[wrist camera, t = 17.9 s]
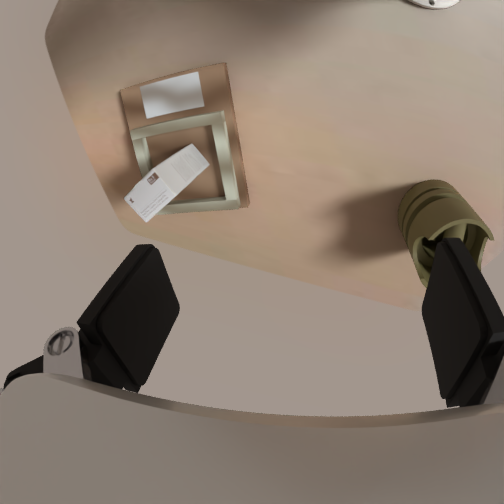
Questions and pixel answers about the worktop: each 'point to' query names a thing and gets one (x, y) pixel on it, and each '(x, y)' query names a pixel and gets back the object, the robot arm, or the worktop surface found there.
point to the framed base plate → (190, 135)
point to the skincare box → (166, 182)
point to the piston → (439, 224)
